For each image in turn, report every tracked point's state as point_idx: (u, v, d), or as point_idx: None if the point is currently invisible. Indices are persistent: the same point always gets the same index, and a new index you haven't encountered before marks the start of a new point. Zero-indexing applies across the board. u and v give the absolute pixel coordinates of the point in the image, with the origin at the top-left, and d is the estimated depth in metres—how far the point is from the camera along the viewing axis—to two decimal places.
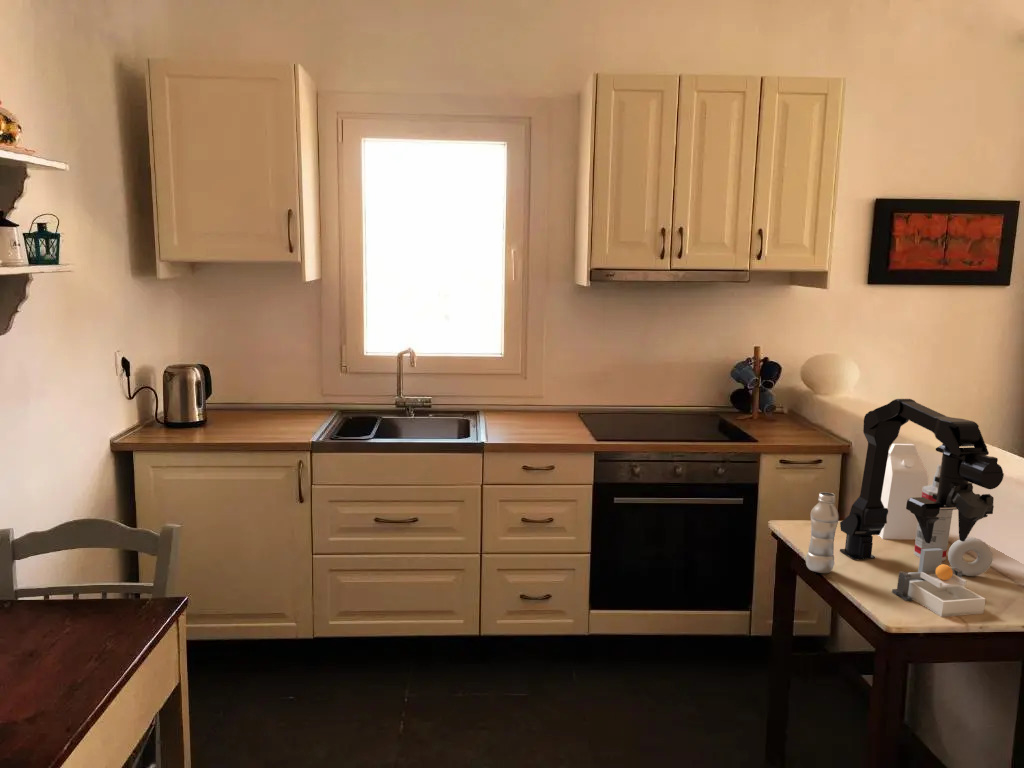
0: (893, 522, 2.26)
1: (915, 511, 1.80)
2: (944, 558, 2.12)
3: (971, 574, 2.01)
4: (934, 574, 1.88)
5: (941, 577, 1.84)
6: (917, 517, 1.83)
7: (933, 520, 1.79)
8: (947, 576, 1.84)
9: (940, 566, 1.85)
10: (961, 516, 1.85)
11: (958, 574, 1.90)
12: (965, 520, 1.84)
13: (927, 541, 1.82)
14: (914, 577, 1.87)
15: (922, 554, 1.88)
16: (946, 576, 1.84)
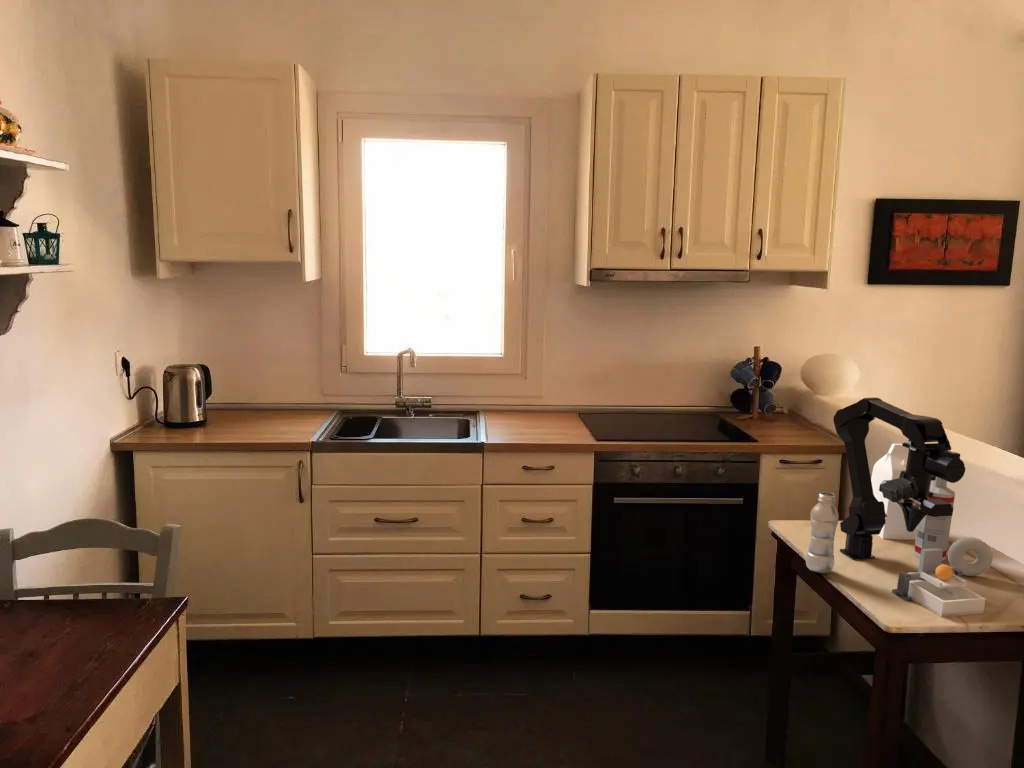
0: (893, 522, 2.26)
1: None
2: (944, 558, 2.12)
3: (971, 574, 2.01)
4: (934, 574, 1.88)
5: (941, 577, 1.84)
6: None
7: (901, 505, 1.95)
8: (947, 576, 1.84)
9: (940, 566, 1.85)
10: None
11: (958, 574, 1.90)
12: None
13: None
14: (914, 577, 1.87)
15: (922, 554, 1.88)
16: (946, 576, 1.84)
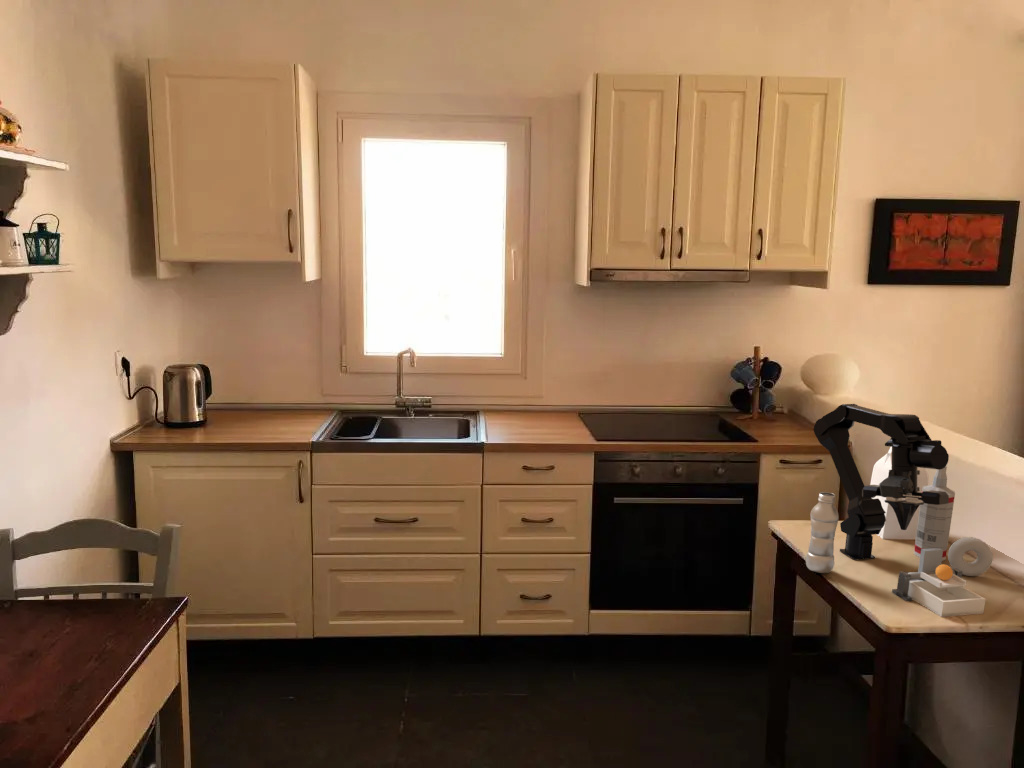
0: (893, 522, 2.26)
1: None
2: (944, 558, 2.12)
3: (971, 574, 2.01)
4: (934, 574, 1.88)
5: (941, 577, 1.84)
6: None
7: (893, 505, 1.97)
8: (947, 576, 1.84)
9: (940, 566, 1.85)
10: None
11: (958, 574, 1.90)
12: None
13: None
14: (914, 577, 1.87)
15: (922, 554, 1.88)
16: (946, 576, 1.84)
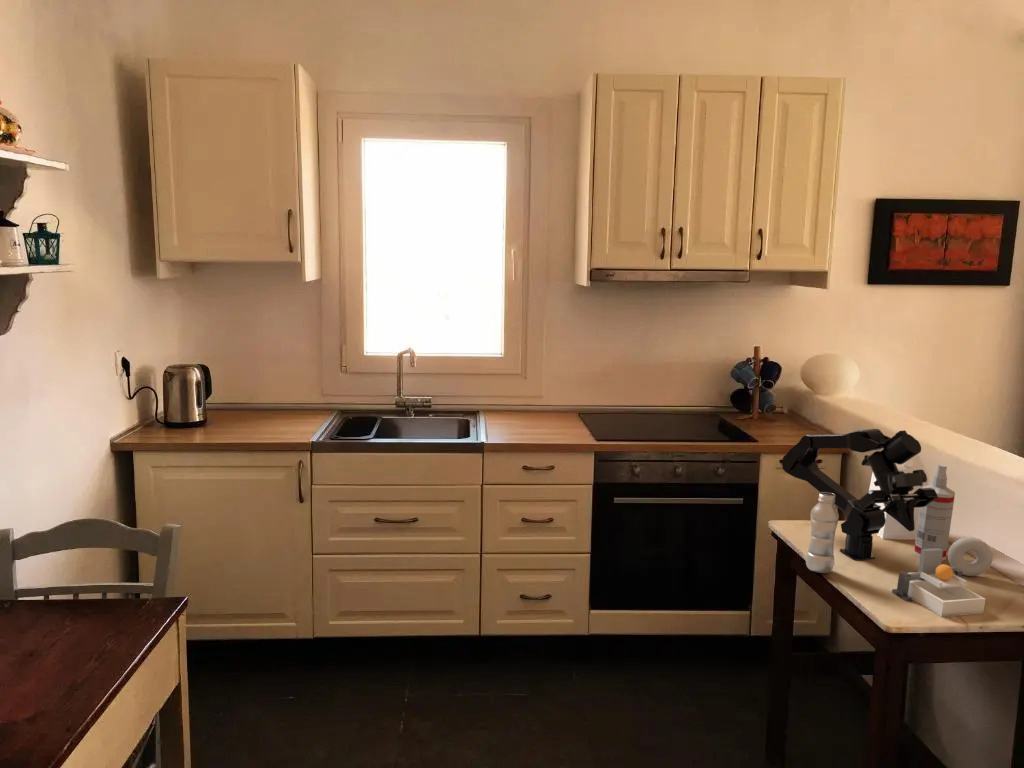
0: (893, 522, 2.26)
1: (867, 502, 1.97)
2: (944, 558, 2.12)
3: (971, 574, 2.01)
4: (934, 574, 1.88)
5: (941, 577, 1.84)
6: (891, 514, 1.99)
7: (902, 504, 1.96)
8: (947, 576, 1.84)
9: (940, 566, 1.85)
10: None
11: (958, 574, 1.90)
12: None
13: (910, 528, 1.95)
14: (914, 577, 1.87)
15: (922, 554, 1.88)
16: (946, 576, 1.84)
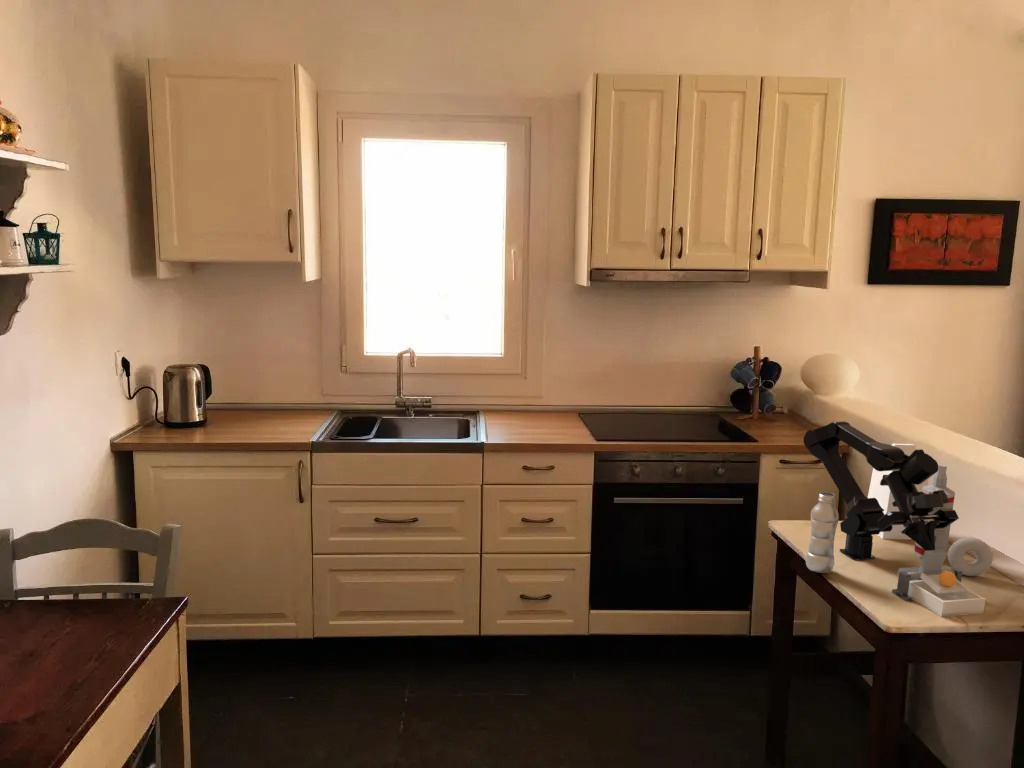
0: None
1: (886, 524, 1.90)
2: None
3: (971, 574, 2.01)
4: (934, 575, 1.88)
5: (942, 583, 1.84)
6: (910, 536, 1.93)
7: (922, 525, 1.90)
8: (948, 586, 1.83)
9: (947, 575, 1.83)
10: None
11: (958, 574, 1.90)
12: None
13: None
14: (914, 578, 1.87)
15: (925, 556, 1.87)
16: (947, 585, 1.83)
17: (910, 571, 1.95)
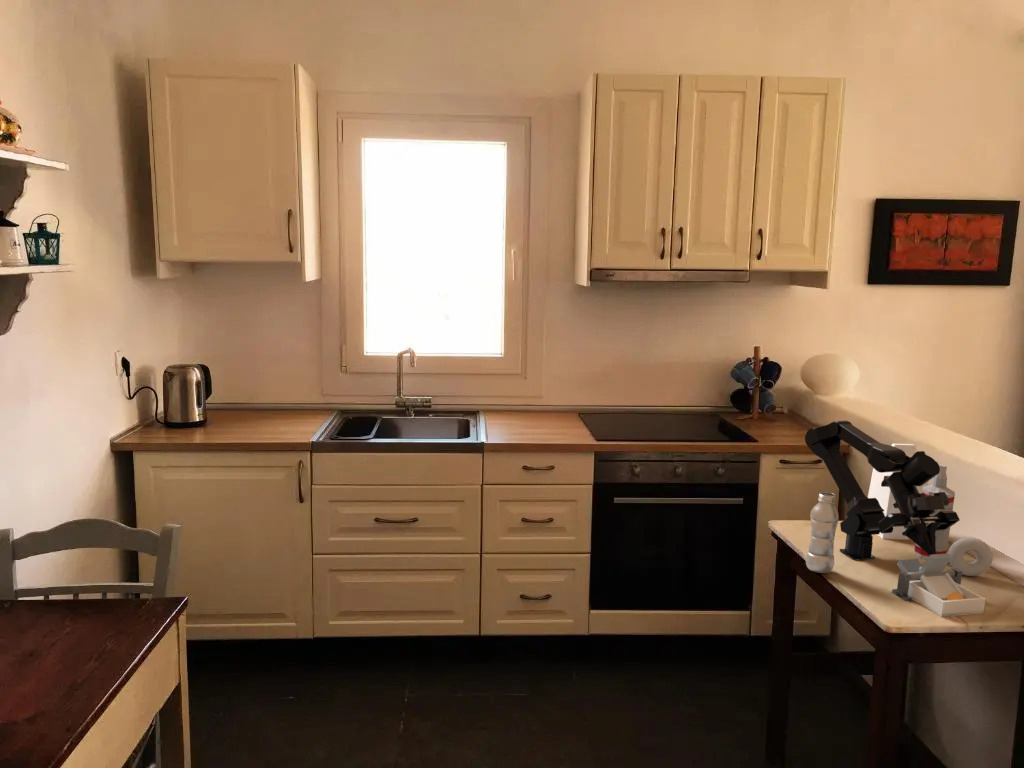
0: None
1: (887, 525, 1.90)
2: None
3: (971, 574, 2.01)
4: (934, 576, 1.88)
5: (948, 596, 1.82)
6: (911, 538, 1.92)
7: (923, 527, 1.89)
8: None
9: None
10: None
11: (958, 574, 1.90)
12: None
13: (931, 553, 1.88)
14: (913, 578, 1.87)
15: (929, 559, 1.86)
16: None
17: (910, 564, 1.95)
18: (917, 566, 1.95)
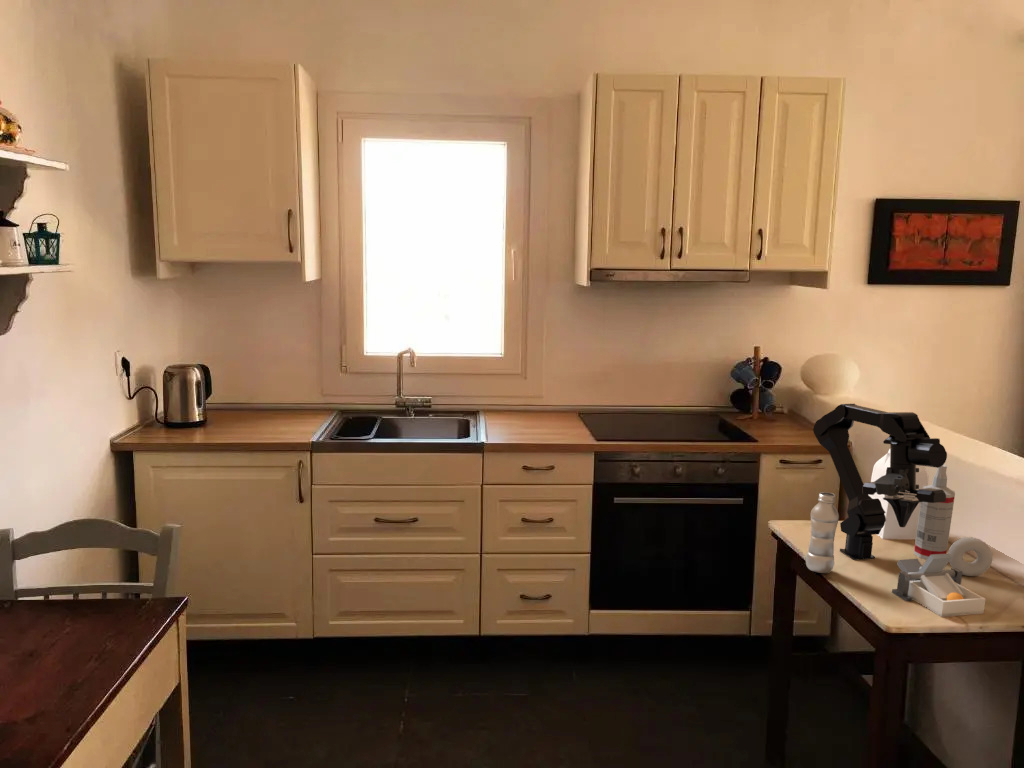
0: (893, 522, 2.26)
1: None
2: None
3: (971, 574, 2.01)
4: (934, 576, 1.88)
5: (947, 596, 1.82)
6: None
7: (891, 502, 1.98)
8: None
9: None
10: None
11: (958, 574, 1.90)
12: None
13: None
14: (913, 578, 1.87)
15: (929, 559, 1.86)
16: None
17: (910, 564, 1.95)
18: (917, 566, 1.95)
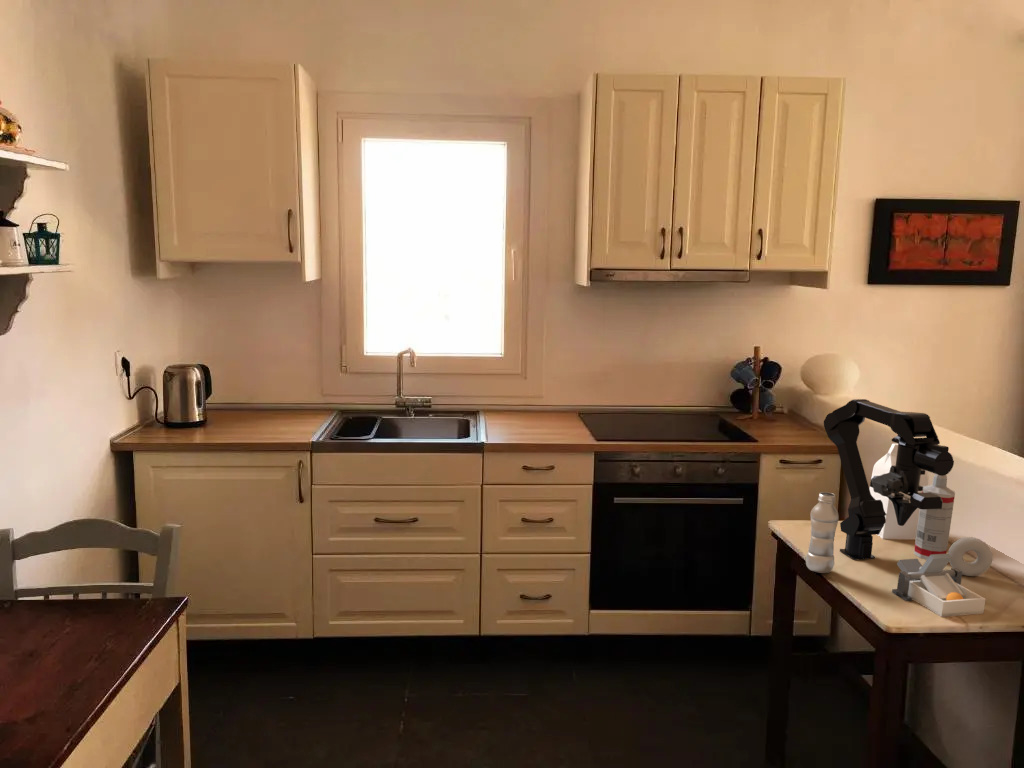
0: (893, 522, 2.26)
1: None
2: None
3: (971, 574, 2.01)
4: (934, 576, 1.88)
5: (946, 597, 1.83)
6: None
7: (891, 500, 1.99)
8: None
9: None
10: None
11: (958, 574, 1.90)
12: None
13: None
14: (913, 578, 1.87)
15: (929, 559, 1.86)
16: None
17: (910, 564, 1.95)
18: (917, 566, 1.95)
